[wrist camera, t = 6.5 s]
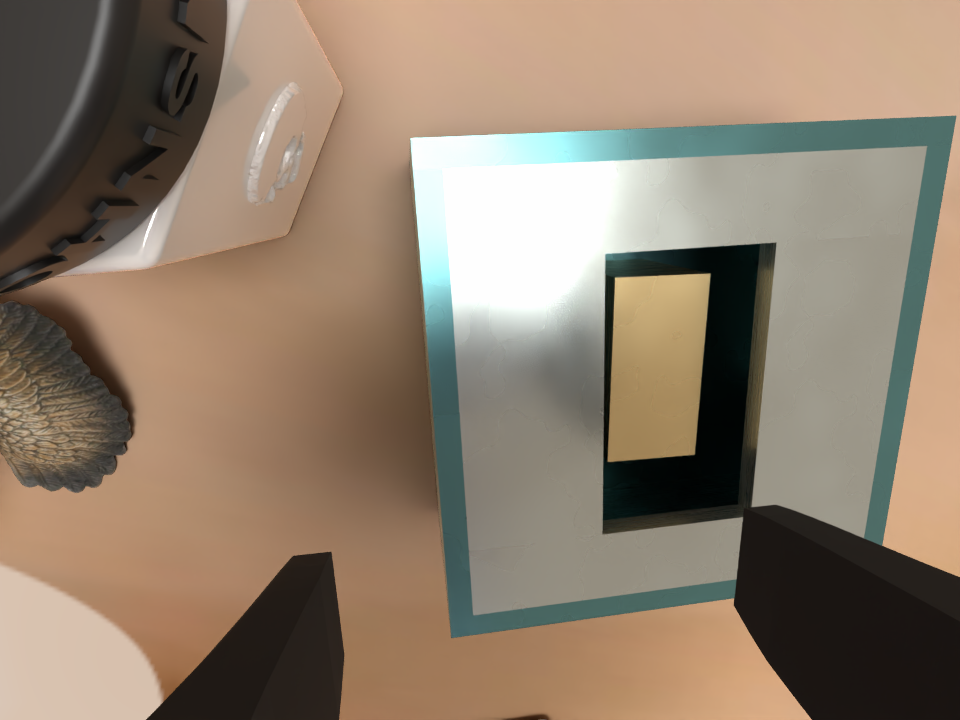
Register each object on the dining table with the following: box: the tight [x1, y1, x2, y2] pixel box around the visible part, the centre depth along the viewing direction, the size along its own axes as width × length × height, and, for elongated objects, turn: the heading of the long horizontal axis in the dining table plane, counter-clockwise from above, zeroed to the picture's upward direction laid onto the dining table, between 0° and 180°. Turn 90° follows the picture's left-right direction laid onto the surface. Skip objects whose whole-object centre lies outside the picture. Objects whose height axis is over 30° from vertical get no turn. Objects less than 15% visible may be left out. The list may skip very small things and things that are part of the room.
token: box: [603, 259, 711, 462], centre depth 16 cm, size 5×2×4 cm, turn 1°
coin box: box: [409, 116, 956, 638], centre depth 16 cm, size 12×12×6 cm
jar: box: [0, 0, 343, 296], centre depth 10 cm, size 9×8×12 cm
